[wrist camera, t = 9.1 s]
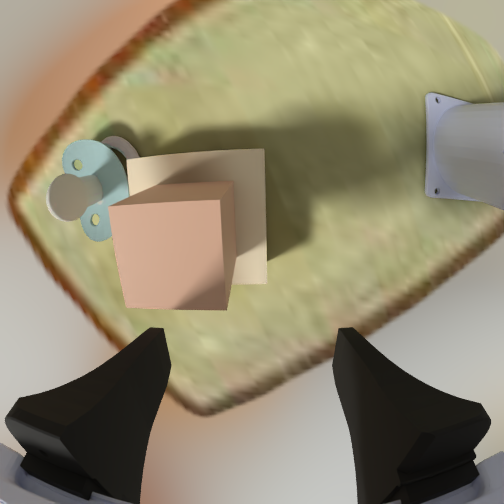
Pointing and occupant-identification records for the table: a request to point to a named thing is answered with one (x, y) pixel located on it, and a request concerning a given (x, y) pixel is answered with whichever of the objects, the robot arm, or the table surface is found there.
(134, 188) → the birch block
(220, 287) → the terracotta block
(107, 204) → the pacifier
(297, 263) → the table surface
